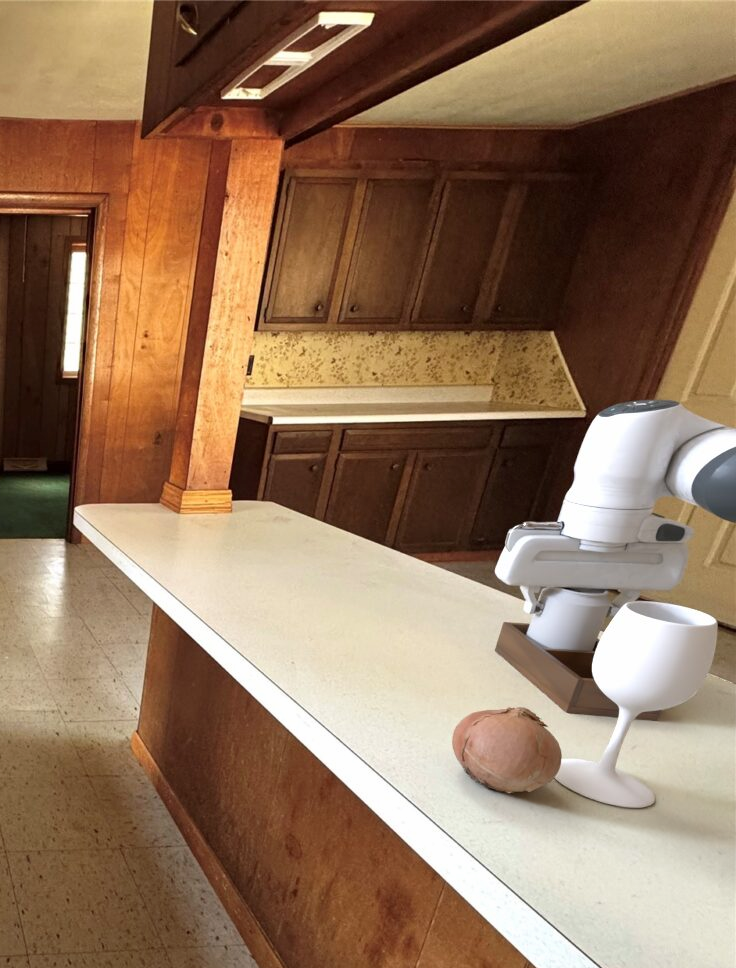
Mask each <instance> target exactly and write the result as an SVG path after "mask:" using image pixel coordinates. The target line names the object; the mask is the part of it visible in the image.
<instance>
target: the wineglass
mask: <svg viewBox="0 0 736 968" xmlns="http://www.w3.org/2000/svg"><path fill="white" fill-rule="evenodd" d="M599 640H600V641H599V643H598V646H597V649H596V651H595V655H594V658H593V663H592V673H593V677H594V680H595V682H596V684H597V685H598V687H599V688H600V690H601V691H602V692H603V693H604V694H605V695H606V696H607V697H608V698H610V699H611V700H612V701H613V702H615V703H616V704H617V705H618V707H619V717H617V721H616V725H615V727H614V731H613V732H612V736H611V738H610V740H609V742H608V744H607V747H606V749H605V750H604V753H603V754H602V756H601V758H600V759H599V761H593V760H589V759H582V758H562V759H561V766H560V769H559V771H558V773H557V775H556V776H555V777H554V778H553V779H555V780H556V781H557V782H558V783H560V784H561V785H563V786H564V787H566V788H567V789H569V790H571V791H572V792H574V793H576V794H578V795H581V796H583V797H585V798H588V799H590V800H594V801H597V802H600V803H603V804H606V805H611V806H614V807H615V806H616V807H622V808H630V809H638V808H639V809H641V808H646V807H649V806H651V805H653V804H654V803H655V802H656V796H655V793H654V792H653V790H651V788H650V787H649V786H648V785H647V784H645V783H644V782H642V781H641V780H639V779H638V778H637V777H635V776H634V775H632V774H630V773H628V772H626V771H624V770H621V769H619V768H616V765H617V761H618V758H619V755H620V752H621V749H622V747H623V743H624V742H625V741H624V740H625V738H626V736H627V734H628V731H629V730H630V727H631V726H632V723H633V722H634V720H636V719H635V718H636V716H637V715H638V714H640V713H642V712H646V711H656V710H662V711H664V710H667V709H671V708H673V707H677V706H680V705H682V704H683V703H685V702H687V701H689V700H690V699H691V698H693V697H694V696H695V695H696V694H697V693H698V692H699V690H700V689H701V687H702V686H703V684H704V682H705V680H706V679H707V677H708V675H709V672H710V670H711V668H712V664H713V661H714V657H715V653H716V647H717V640H718V621H717V620H716V618H715V617H713V616H712V615H710V614H708V613H705V612H702V611H700V610H697V609H694V608H690V607H686V606H682V605H677V604H672V603H667V602H660V601H650V600H649V601H648V600H635V601H634V602H629V603H626V604H625V605H624V606H623V607H622V608H621V609H620V610H619V612H618V613H617V614H616V615H615V617H614V618H612V619H611V621H610V622H609V624H608V625H607V627H606V628H605V630H604V632H603V634H602V635H601V637H600V639H599Z"/></svg>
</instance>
